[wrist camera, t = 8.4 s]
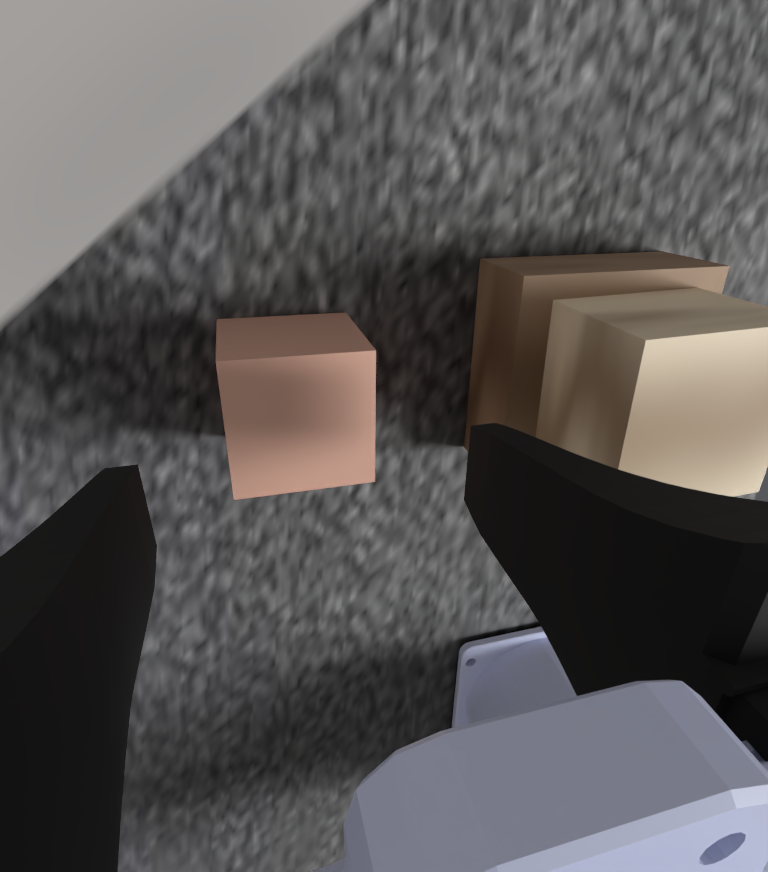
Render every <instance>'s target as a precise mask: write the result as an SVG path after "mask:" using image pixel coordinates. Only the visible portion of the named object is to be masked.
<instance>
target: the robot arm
mask: <svg viewBox="0 0 768 872" xmlns="http://www.w3.org/2000/svg"><path fill="white" fill-rule="evenodd" d="M464 501H465V503H466V505H467V507H468V509H469V512H470V514H471V516H472V518H473V520H474V522H475V524H476V526H477V528H478V530H479V532H480V534H481V536H482V537H483V539H484V540H485V542H486V543H487V545H488V546H489V548H490V549H491V551H492V552H493V554H494V555H495V557H496V558H497V560H498V561H499V563H500V564H501V566H502V567H503V569H504V570H505V572H506V573H507V575H508V576H509V577H510V579H511V580H512V582H513V583H514V585H515V586H516V588H517V589H518V591H519V592H520V594H521V595H522V597H523V598H524V599H525V601H526V602H527V604H528V605H529V607H530V609H531V610H532V612H533V613H534V615H535V617H536V618H537V620H538V621H539V623H540V625H541V627H536V628H531V629H527V630H522V631H517V632H513V633H508V634H503V635H499V636H494V637H489V638H485V639H480V640H475V641H471V642H467V643H465V644H464V645H462V647H461V648H460V650H459V657H458V668H457V678H456V688H455V698H454V708H453V719H452V728H450V729H446V730H443V731H440V732H437V733H435V734H433V735H430V736H428V737H426V738H423V739H421V740H419V741H416V742H414V743H412V744H409V745H407V746H405V747H402V748H400V749H398V750H396V751H395V752H393V753H392V754H391V755H390V756H389V757H388V758H387V759H386V760H384V761H383V762H382V763H381V764H380V765H379V766H378V767H377V768H375V769H374V770H373V771H372V772H371V773H370V774H369V775H368V776H366V777H365V778H364V779H363V780H362V782H361V783H360V785H359V786H358V787H357V789H356V791H355V794H354V797H353V799H352V802H351V805H350V807H349V810H348V813H347V815H346V818H345V821H344V842H345V857H344V858H342V859H340V860H338V861H336V862H334V863H332V864H330V865H328V866H326V867H323V868H320V869H316V870H313V871H310V872H768V502H764V501H757V500H750V499H743V498H737V497H731V496H725V495H719V494H713V493H709V492H704V491H699V490H694V489H689V488H684V487H680V486H676V485H672V484H667V483H663V482H660V481H656V480H653V479H649V478H645V477H642V476H638V475H635V474H631V473H628V472H625V471H622V470H619V469H616V468H613V467H610V466H607V465H604V464H602V463H599V462H596V461H593V460H590V459H588V458H585V457H583V456H580V455H577V454H575V453H572V452H570V451H567V450H565V449H562V448H560V447H558V446H555V445H553V444H550V443H548V442H546V441H543V440H541V439H538V438H536V437H533V436H531V435H529V434H526V433H524V432H521V431H519V430H516V429H513V428H511V427H508V426H505V425H502V424H498V423H489V424H481V425H472V426H471V429H470V440H469V451H468V462H467V473H466V484H465V495H464ZM156 551H157V545H156V541H155V536H154V532H153V528H152V524H151V519H150V515H149V511H148V507H147V502H146V498H145V494H144V489H143V485H142V481H141V477H140V472H139V468H138V465H131V466H122V467H114V468H105V469H104V470H102V471H101V472H100V473H99V474H97V475H96V476H95V477H94V478H93V479H92V480H90V481H89V482H88V483H87V484H86V485H85V486H84V487H83V488H82V489H81V490H79V491H78V492H77V493H76V494H75V495H74V496H73V497H72V498H71V499H70V500H68V501H67V502H66V503H65V504H64V505H63V506H62V507H61V508H59V509H58V510H57V511H56V512H55V513H54V514H53V515H52V516H50V517H49V518H48V519H47V520H46V521H45V522H43V523H42V524H41V525H40V526H39V527H37V528H36V529H35V530H34V531H32V532H31V533H30V534H29V535H27V536H26V537H25V538H24V539H22V540H21V541H20V542H19V543H17V544H16V545H15V546H14V547H12V548H11V549H10V550H9V551H7V552H6V553H5V554H4V555H2V556H1V557H0V872H117V869H118V852H119V836H120V820H121V807H122V794H123V782H124V769H125V757H126V747H127V737H128V726H129V716H130V707H131V701H132V695H133V689H134V684H135V679H136V674H137V669H138V665H139V660H140V655H141V650H142V646H143V641H144V636H145V631H146V627H147V622H148V617H149V612H150V607H151V602H152V597H153V592H154V585H155V571H156Z"/></svg>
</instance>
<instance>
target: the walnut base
mask: <svg viewBox="0 0 768 872" xmlns="http://www.w3.org/2000/svg"><path fill="white" fill-rule="evenodd" d="M729 267H730V266H727V265H723V264H718V263H713V262H709V261H704V260H700V259H695V258H690V257H686V256H681V255H677V254H672V253H667V252H663V251H658V252H633V253H607V254H582V255H557V256H531V257H506V258H481V259H480V266H479V278H478V290H477V302H476V314H475V326H474V338H473V350H472V361H471V373H470V385H469V397H468V409H467V421H466V433H465V445H464V447H465V449H466V450H467V451H469V440H470V429H471V426H472V425H481V424H489V423H498V424H502V425H505V426H508V427H511V428H513V429H516V430H519V431H521V432H524V433H526V434H529V435H531V436H533V437H536V429H537V421H538V414H539V406H540V398H541V390H542V383H543V375H544V367H545V359H546V351H547V344H548V336H549V328H550V320H551V312H552V305H553V300H558V299H570V298H582V297H593V296H605V295H617V294H629V293H640V292H652V291H664V290H675V289H687V288H701V289H705V290H709V291H712V292H716V293H719V294H722V291H723V287H724V284H725V280H726V277H727V273H728V270H729Z"/></svg>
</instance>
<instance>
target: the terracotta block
mask: <svg viewBox="0 0 768 872" xmlns="http://www.w3.org/2000/svg"><path fill="white" fill-rule="evenodd" d="M216 368H217V376H218V383H219V391H220V398H221V406H222V413H223V421H224V428H225V436H226V443H227V451H228V458H229V466H230V474H231V481H232V489H233V496H234V500H237V499H245V498H252V497H260V496H268V495H276V494H284V493H291V492H299V491H307V490H315V489H323V488H330V487H338V486H346V485H354V484H362V483H369V482H375V420H376V350H375V348H374V347H373V346H372V345H371V343H370V342H369V341H368V340H367V338H366V337H365V336H364V334H363V333H362V332H361V331H360V329H359V328H358V327H357V326H356V324H355V323H354V322H353V321H352V319H351V318H350V317H349V315H348V314H347V313H327V314H308V315H288V316H269V317H249V318H230V319H217V328H216Z"/></svg>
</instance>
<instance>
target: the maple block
mask: <svg viewBox="0 0 768 872" xmlns="http://www.w3.org/2000/svg"><path fill="white" fill-rule="evenodd" d="M536 438H538V439H541V440H543V441H546V442H548V443H550V444H553V445H555V446H558V447H560V448H562V449H565V450H567V451H570V452H572V453H575V454H577V455H580V456H583V457H585V458H588V459H590V460H593V461H596V462H599V463H602V464H604V465H607V466H610V467H613V468H616V469H619V470H622V471H625V472H628V473H631V474H635V475H638V476H642V477H645V478H649V479H653V480H656V481H660V482H663V483H667V484H672V485H676V486H680V487H684V488H689V489H694V490H699V491H704V492H709V493H713V494H719V495H725V496H731V497H733V496H738V495H744V494H749V493H754V492H759V489H760V486H761V484H762V481H763V478H764V475H765V473H766V470H767V467H768V307H766V306H763V305H759V304H756V303H752V302H748V301H745V300H741V299H737V298H734V297H730V296H727V295H723V294H719V293H716V292H712V291H709V290H705V289H701V288H687V289H675V290H664V291H652V292H640V293H629V294H617V295H605V296H593V297H582V298H570V299H558V300H553V305H552V312H551V320H550V328H549V336H548V344H547V351H546V359H545V367H544V375H543V383H542V390H541V398H540V406H539V414H538V421H537V429H536Z"/></svg>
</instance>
